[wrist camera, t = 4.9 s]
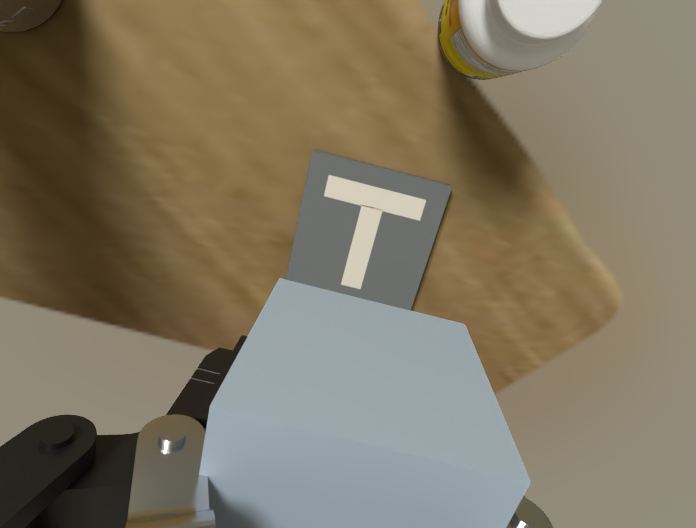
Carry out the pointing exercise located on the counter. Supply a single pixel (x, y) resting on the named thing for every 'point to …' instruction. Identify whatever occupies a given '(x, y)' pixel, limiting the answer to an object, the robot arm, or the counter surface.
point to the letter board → (365, 229)
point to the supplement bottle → (510, 33)
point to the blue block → (357, 422)
